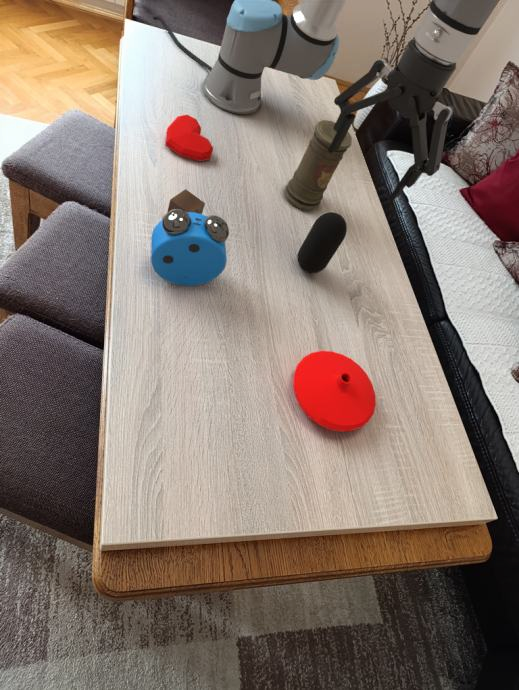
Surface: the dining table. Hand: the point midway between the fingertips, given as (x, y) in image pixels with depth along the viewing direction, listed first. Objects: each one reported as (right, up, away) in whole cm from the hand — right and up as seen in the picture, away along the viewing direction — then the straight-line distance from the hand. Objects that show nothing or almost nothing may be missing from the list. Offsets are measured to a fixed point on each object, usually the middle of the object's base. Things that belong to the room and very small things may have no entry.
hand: (362, 173), depth 87 cm
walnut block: (-34, -4, +16) cm, 37 cm away
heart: (-35, +16, +29) cm, 48 cm away
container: (-8, +5, +32) cm, 34 cm away
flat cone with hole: (-6, -39, +4) cm, 40 cm away
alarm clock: (-33, -17, +8) cm, 38 cm away
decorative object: (-8, -14, +20) cm, 25 cm away
